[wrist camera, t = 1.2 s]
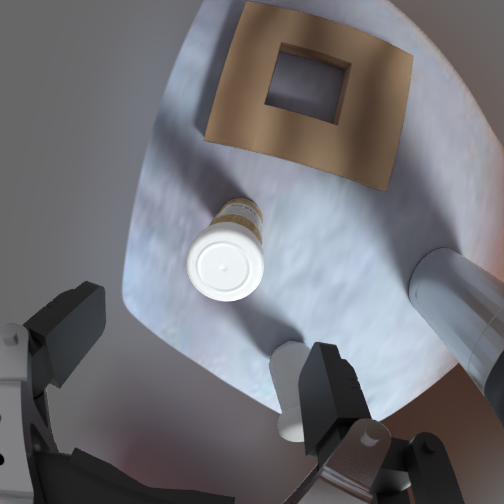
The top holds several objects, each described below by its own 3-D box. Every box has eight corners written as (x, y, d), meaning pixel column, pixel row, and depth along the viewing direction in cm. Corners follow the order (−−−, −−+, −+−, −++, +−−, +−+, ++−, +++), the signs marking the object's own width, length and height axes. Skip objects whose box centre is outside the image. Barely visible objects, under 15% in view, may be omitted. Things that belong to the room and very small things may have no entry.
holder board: (403, 61, 22) (413, 55, 19) (376, 188, 27) (386, 191, 24) (247, 12, 21) (246, 1, 18) (208, 141, 26) (203, 140, 23)
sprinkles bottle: (210, 222, 28) (169, 273, 16) (237, 188, 27) (214, 212, 14) (244, 249, 29) (231, 317, 16) (272, 216, 28) (281, 263, 15)
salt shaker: (267, 368, 34) (267, 449, 22) (269, 334, 33) (271, 418, 20) (310, 368, 34) (324, 446, 22) (316, 334, 32) (337, 415, 20)
